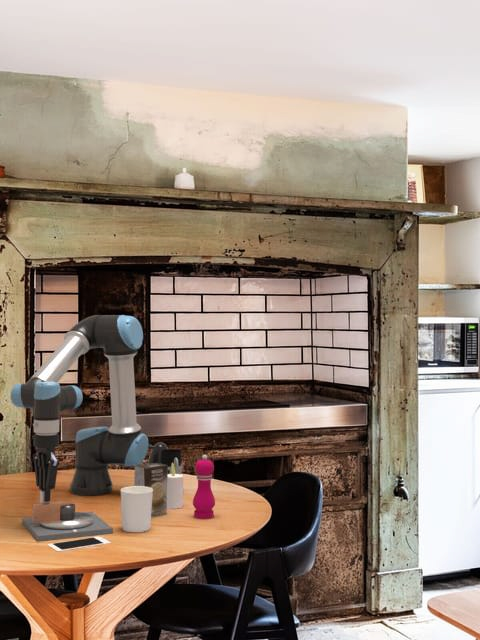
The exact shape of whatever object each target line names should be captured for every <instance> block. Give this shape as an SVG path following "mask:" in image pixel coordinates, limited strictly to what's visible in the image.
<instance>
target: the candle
mask: <svg viewBox="0 0 480 640" xmlns="http://www.w3.org/2000/svg"><path fill="white" fill-rule="evenodd" d="M183 507H184V475H183V474H175V468H174V464H173V463H172V465H171V474H168V478H167V510H168V509H169V510H170V509H171V510H178V508H179V509H182V508H183Z"/></svg>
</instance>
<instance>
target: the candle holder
mask: <svg viewBox="0 0 480 640" xmlns="http://www.w3.org/2000/svg"><path fill="white" fill-rule="evenodd" d="M119 491H120V503H121V508H120V509H121V526H122V527H121V529H122V530H123V531H124V532H127V533H144V531H145V532H148V531H149V530H150V529H151V519H152V517H151V510H152V496H153V489H152V488H150V487H145V486H134V485H132V486H125V487H122V488H121V489H120V490H119Z"/></svg>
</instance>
